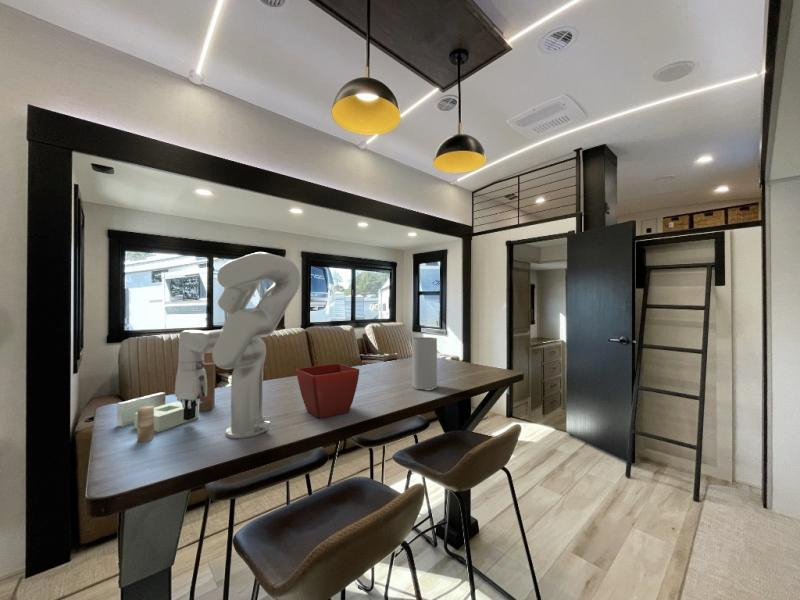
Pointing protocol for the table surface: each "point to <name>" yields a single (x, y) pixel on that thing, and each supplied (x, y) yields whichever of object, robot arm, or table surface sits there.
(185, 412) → the robot arm
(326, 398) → the plant pot
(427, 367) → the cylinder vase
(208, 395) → the wooden block
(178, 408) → the socket block
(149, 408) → the wooden dowel
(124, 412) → the backstop board
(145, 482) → the table surface
